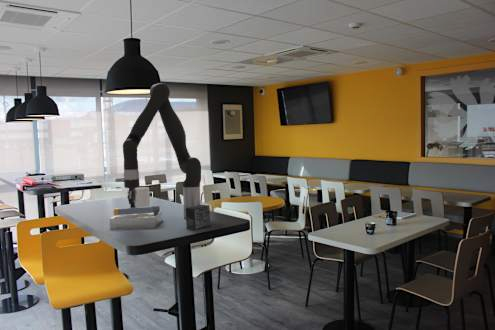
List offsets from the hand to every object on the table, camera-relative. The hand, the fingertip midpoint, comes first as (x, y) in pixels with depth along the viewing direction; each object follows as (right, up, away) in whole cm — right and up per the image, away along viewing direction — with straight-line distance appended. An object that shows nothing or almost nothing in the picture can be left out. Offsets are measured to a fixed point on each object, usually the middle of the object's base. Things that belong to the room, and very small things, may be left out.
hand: (133, 211), depth 205 cm
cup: (-1, -5, +25) cm, 25 cm away
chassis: (+2, -7, 0) cm, 7 cm away
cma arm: (+3, -1, -3) cm, 4 cm away
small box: (+35, -7, -13) cm, 38 cm away
